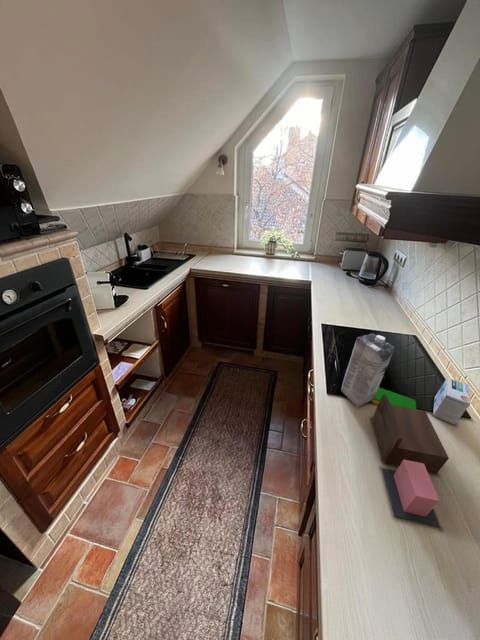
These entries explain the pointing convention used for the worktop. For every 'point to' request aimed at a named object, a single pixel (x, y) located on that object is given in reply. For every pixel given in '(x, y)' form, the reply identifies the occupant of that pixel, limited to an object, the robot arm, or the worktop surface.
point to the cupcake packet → (415, 488)
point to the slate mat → (397, 504)
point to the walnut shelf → (407, 436)
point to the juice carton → (366, 368)
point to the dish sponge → (394, 399)
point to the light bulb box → (451, 401)
